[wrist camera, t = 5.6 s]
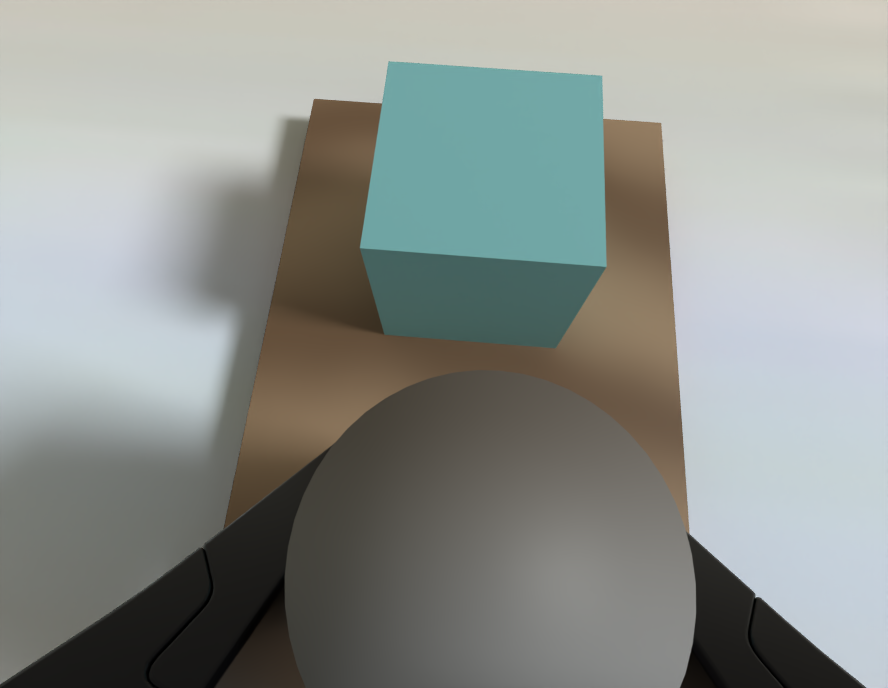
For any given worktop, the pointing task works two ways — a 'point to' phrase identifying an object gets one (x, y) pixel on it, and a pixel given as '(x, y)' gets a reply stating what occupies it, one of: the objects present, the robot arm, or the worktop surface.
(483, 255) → the teal block
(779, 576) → the worktop surface
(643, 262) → the walnut strip
